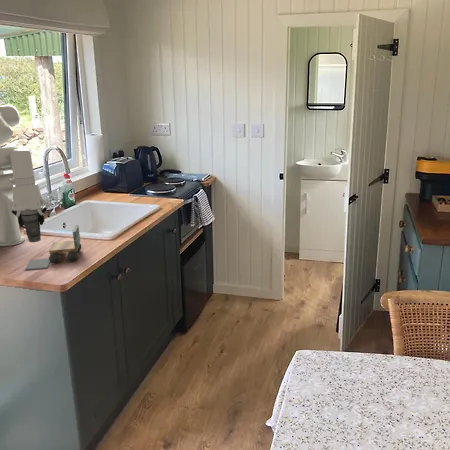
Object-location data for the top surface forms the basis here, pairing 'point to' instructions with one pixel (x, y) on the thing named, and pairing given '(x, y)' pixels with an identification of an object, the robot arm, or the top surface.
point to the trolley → (66, 248)
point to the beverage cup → (31, 224)
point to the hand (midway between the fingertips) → (32, 224)
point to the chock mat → (38, 264)
